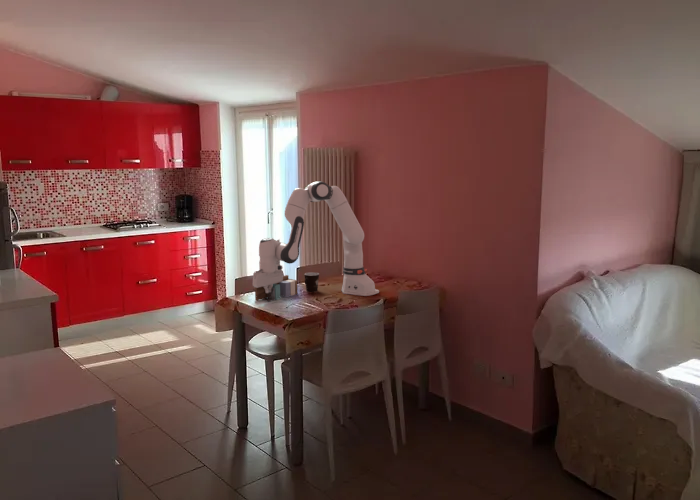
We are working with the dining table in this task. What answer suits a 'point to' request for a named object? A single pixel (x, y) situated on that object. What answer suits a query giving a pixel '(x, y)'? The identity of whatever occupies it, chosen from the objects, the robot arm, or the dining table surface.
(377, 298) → the dining table surface
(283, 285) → the slate book
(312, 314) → the dining table surface
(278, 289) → the teal rectangular block
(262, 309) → the dining table surface
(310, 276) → the coffee mug
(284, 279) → the walnut rack
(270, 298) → the bookend
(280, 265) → the robot arm
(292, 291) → the cream book
